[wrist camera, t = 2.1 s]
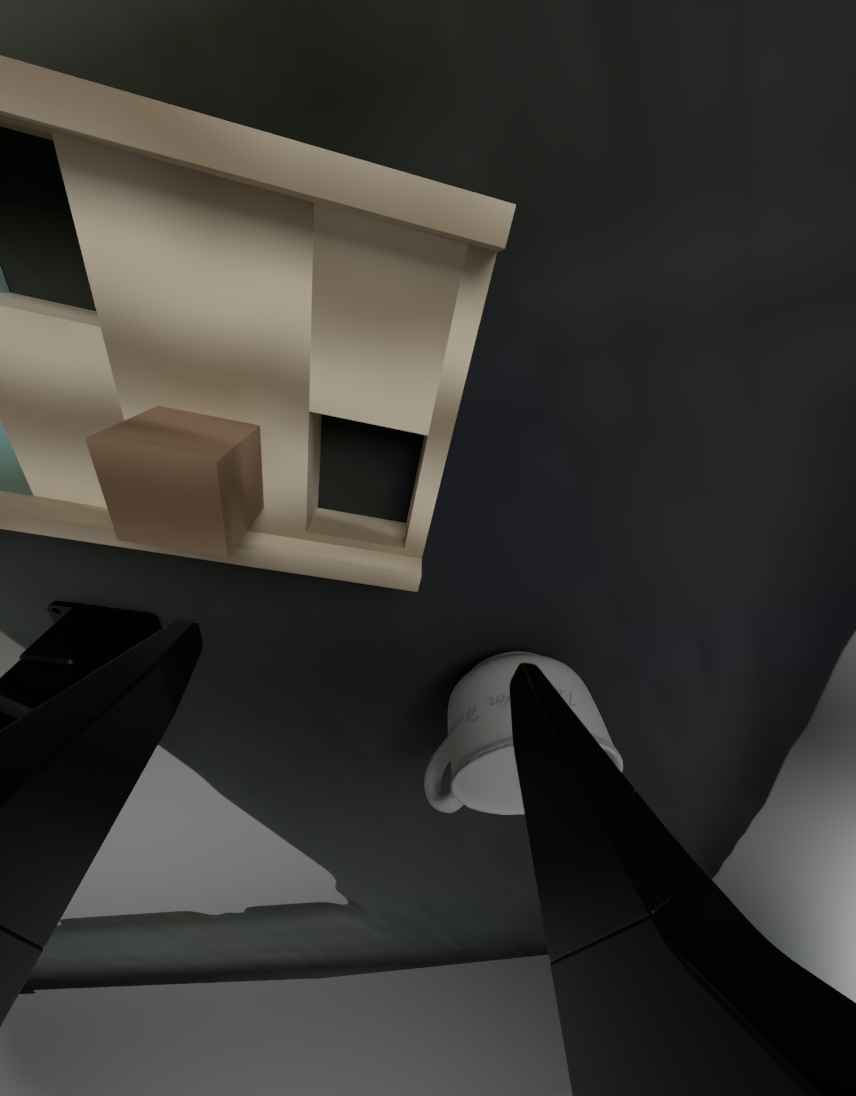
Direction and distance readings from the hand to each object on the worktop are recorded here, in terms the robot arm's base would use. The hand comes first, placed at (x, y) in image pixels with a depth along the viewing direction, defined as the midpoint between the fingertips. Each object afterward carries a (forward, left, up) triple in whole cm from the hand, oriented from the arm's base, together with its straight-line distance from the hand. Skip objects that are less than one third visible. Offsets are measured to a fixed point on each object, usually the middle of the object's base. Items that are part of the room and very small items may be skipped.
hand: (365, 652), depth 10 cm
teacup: (-17, -11, -12) cm, 23 cm away
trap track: (+3, +11, -12) cm, 16 cm away
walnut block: (0, +8, -10) cm, 12 cm away
